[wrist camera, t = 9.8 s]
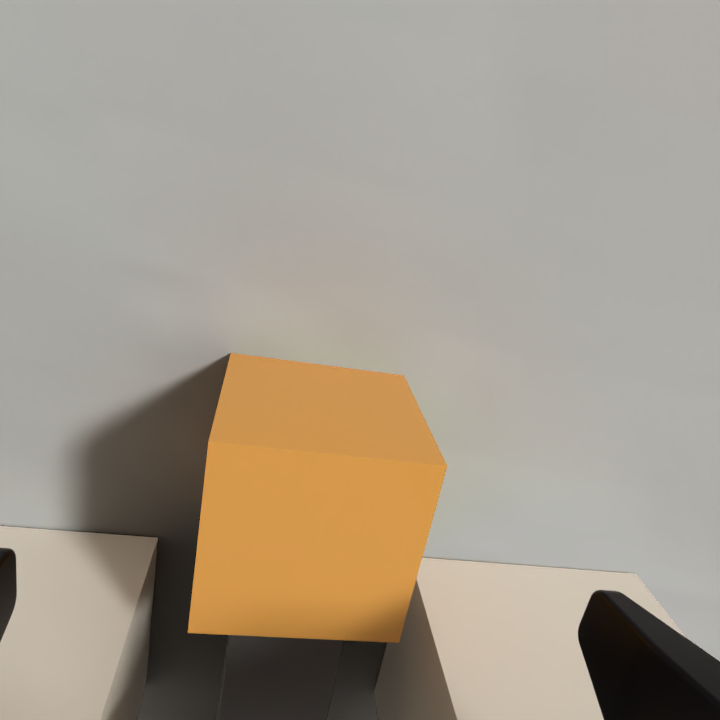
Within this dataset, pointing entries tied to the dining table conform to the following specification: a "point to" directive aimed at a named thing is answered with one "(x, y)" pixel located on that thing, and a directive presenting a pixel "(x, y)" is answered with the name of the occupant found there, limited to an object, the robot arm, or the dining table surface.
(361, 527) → the orange grey square bar
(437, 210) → the dining table surface
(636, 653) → the robot arm
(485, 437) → the dining table surface
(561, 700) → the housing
